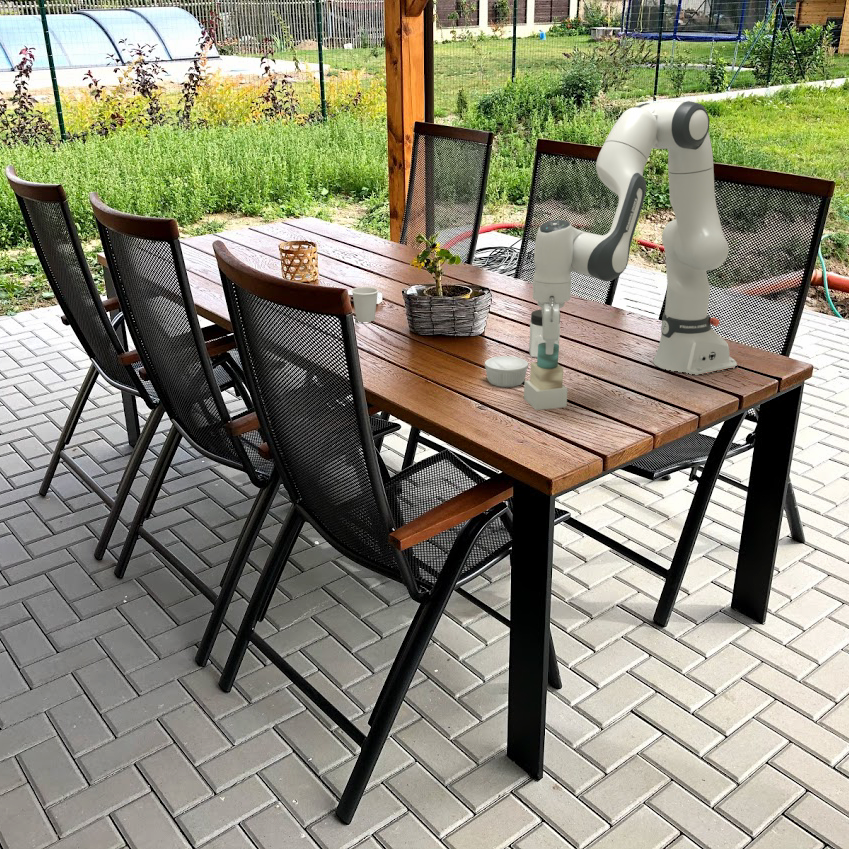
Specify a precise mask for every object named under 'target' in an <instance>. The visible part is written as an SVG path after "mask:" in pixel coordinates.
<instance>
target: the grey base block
mask: <svg viewBox="0 0 849 849" xmlns="http://www.w3.org/2000/svg"><path fill="white" fill-rule="evenodd" d="M523 384H524V386H523V388H524V389H523V399H524V400H525V401H526V402H527V403H528V404H529V405H530V406H531V407H532V408H533V409H534V410H535V411H540V410H541V411H542V410H550V409H558V408H567V405H568V388H567V386H565V385H564V384H563V385H562V388H554V389H545V390H539V389H538V388H537V387H535V386H534V385H533V384H532V383H531V382H530V379H528V380H526V379H525V380H524V383H523Z"/></svg>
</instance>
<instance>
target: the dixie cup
mask: <svg viewBox="0 0 849 849" xmlns="http://www.w3.org/2000/svg"><path fill="white" fill-rule="evenodd" d="M351 293H352V298H353V306H354V313H355V320H356V319H357V320H356V322H357V321H359V322H371V321H374V320H375V321H376V310H377V302H378V301H377V300H378V293H379V289H377V288H376V287H371V286H361V287H358V286H357V287H355V288H352V289H351ZM375 321H374V322H375Z"/></svg>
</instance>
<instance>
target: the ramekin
mask: <svg viewBox="0 0 849 849" xmlns="http://www.w3.org/2000/svg"><path fill="white" fill-rule="evenodd" d="M484 368H485V372H486V378H487V381H488V382H489V384H491V385H493V386H496V387H500V388H501V387H502V388H512V387H518V386H520V385H522V384H524V383H525V380H526V375H527V371H528V368H529V362H528V361H527V360H526V359H524V358H521V357H518V356H511V355H509V356H507V355H500V356H493V357H490V358H488V359H487V360H485V361H484Z"/></svg>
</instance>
